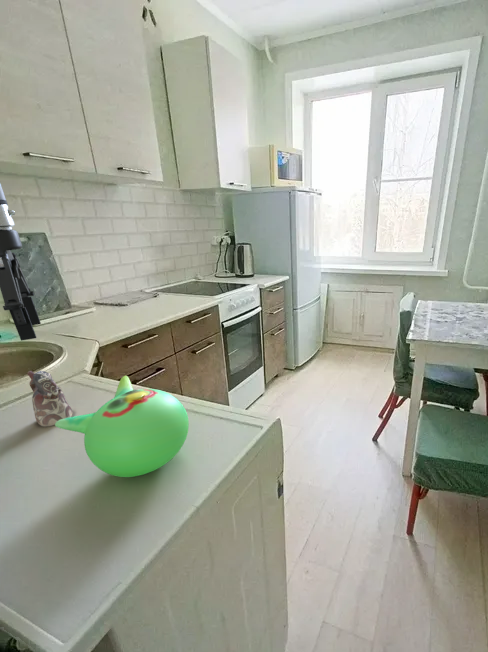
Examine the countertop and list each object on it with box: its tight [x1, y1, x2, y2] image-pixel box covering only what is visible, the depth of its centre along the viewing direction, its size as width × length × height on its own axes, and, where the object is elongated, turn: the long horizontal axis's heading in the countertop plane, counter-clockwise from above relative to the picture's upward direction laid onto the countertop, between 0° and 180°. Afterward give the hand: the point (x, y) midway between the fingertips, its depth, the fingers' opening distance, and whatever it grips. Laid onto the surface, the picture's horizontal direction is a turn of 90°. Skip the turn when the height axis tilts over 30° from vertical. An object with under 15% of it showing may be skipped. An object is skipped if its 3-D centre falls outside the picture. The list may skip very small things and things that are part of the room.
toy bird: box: [54, 375, 190, 478], centre depth 63 cm, size 18×17×15 cm
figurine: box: [26, 370, 74, 427], centre depth 80 cm, size 7×7×12 cm
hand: (31, 331), depth 80 cm, fingers open, 13 cm apart
